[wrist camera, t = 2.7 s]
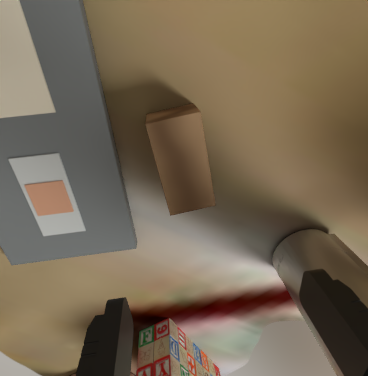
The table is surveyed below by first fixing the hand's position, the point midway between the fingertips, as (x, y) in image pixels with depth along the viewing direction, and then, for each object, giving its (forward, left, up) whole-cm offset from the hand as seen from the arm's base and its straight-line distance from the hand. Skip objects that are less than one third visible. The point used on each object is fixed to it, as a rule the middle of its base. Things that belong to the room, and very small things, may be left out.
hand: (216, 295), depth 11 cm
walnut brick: (0, 0, -19) cm, 19 cm away
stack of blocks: (+3, +41, -20) cm, 45 cm away
